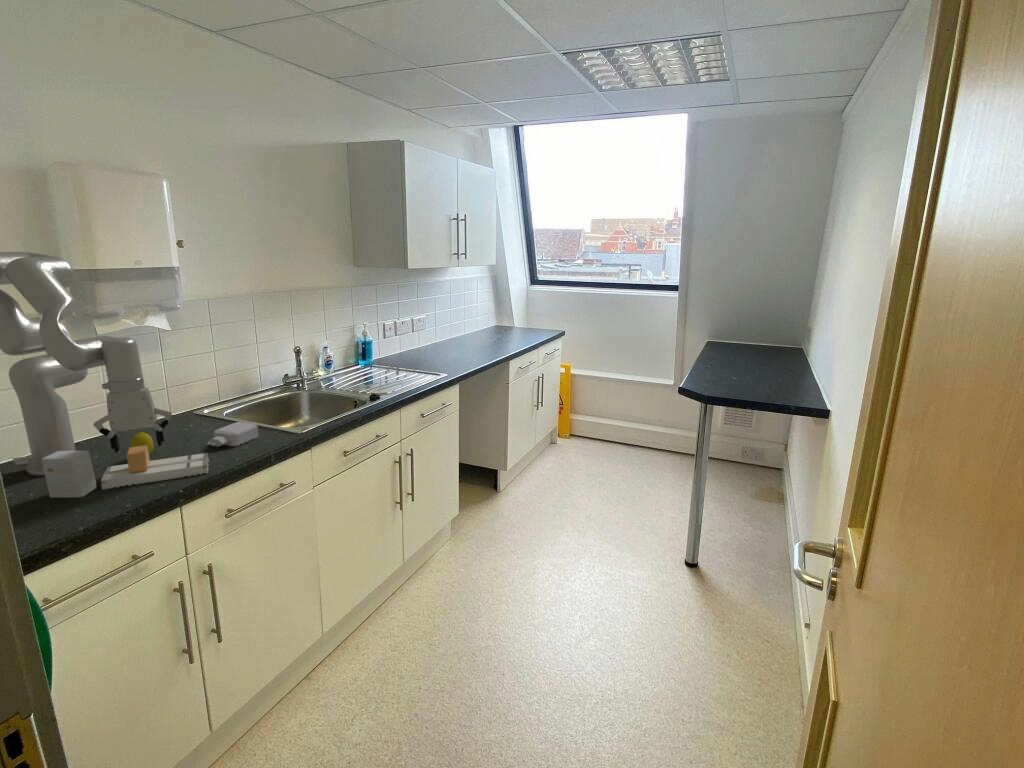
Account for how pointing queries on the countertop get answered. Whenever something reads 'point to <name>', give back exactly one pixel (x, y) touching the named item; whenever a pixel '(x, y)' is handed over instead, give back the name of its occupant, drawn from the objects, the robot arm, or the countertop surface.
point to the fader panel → (156, 471)
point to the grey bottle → (234, 434)
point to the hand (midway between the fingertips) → (139, 447)
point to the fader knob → (138, 458)
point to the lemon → (142, 441)
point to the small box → (69, 474)
